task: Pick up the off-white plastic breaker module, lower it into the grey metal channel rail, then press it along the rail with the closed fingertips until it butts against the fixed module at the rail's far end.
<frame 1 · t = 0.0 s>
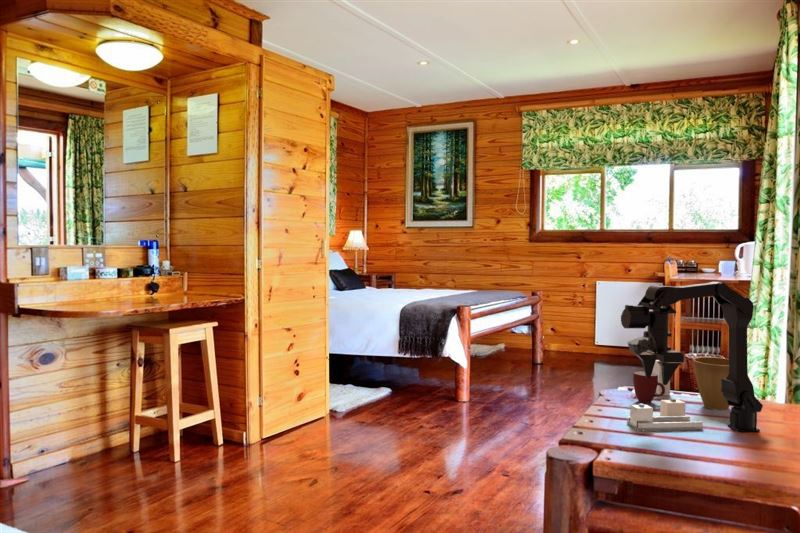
hand: (656, 381, 186), 15 cm above the table, tool pointing down, fingers open, 9 cm apart
rail: (664, 426, 191), on the table
skincare box: (660, 394, 235), on the table
mug: (648, 403, 221), on the table
module: (672, 418, 201), on the table
plant pot: (715, 408, 216), on the table
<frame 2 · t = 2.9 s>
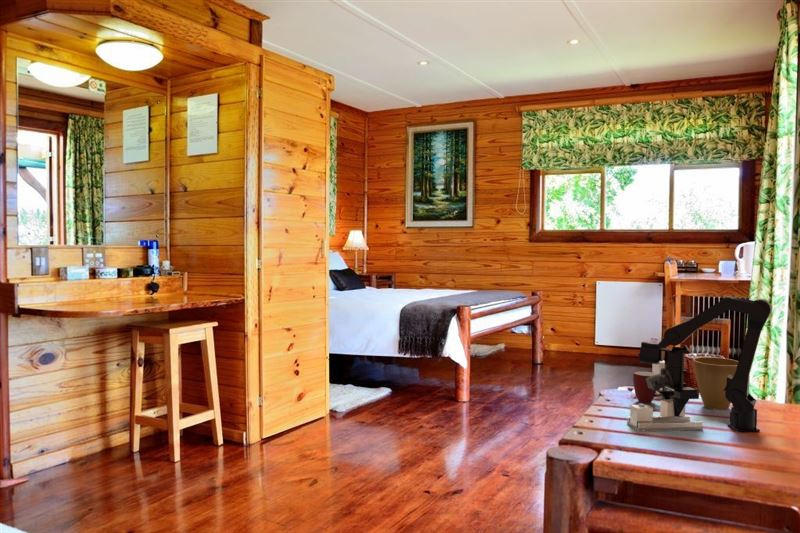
hand: (672, 415, 201), 1 cm above the table, tool pointing down, fingers closed on module, 4 cm apart
module: (672, 418, 201), on the table, touching gripper
everything else where it was.
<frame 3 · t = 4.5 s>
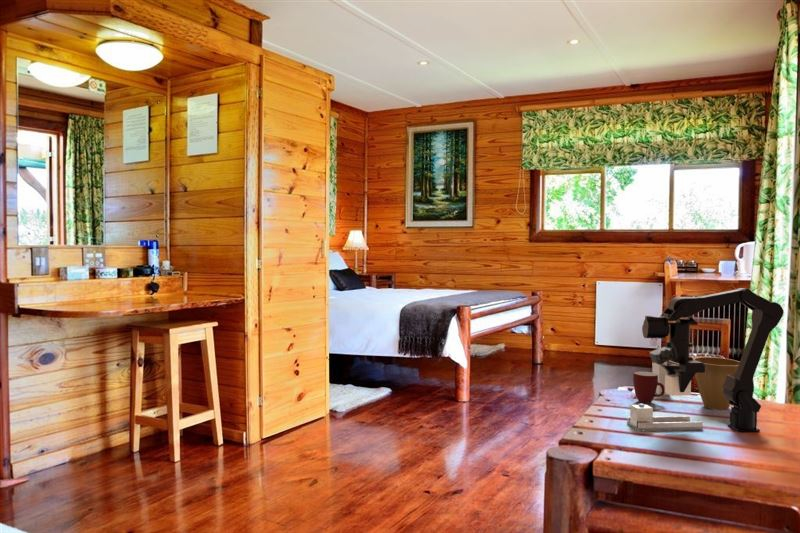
hand: (677, 390, 191), 11 cm above the table, tool pointing down, fingers closed on module, 4 cm apart
module: (677, 394, 191), point 10 cm above the table, touching gripper
everything else where it was.
when the fingers open (3 cm above the table, at t = 6.2 s): module drops 1 cm, resting on rail.
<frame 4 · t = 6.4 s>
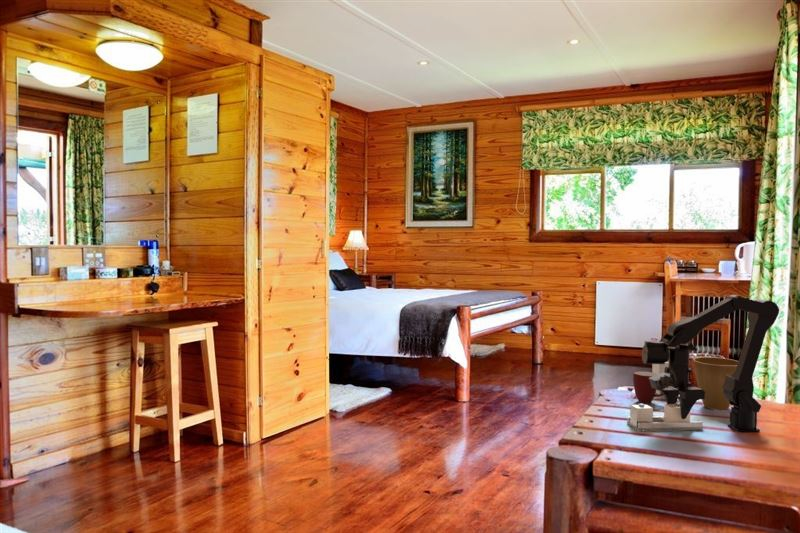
hand: (677, 416, 191), 3 cm above the table, tool pointing down, fingers open, 6 cm apart
module: (676, 423, 191), point 1 cm above the table, touching rail
everything else where it was.
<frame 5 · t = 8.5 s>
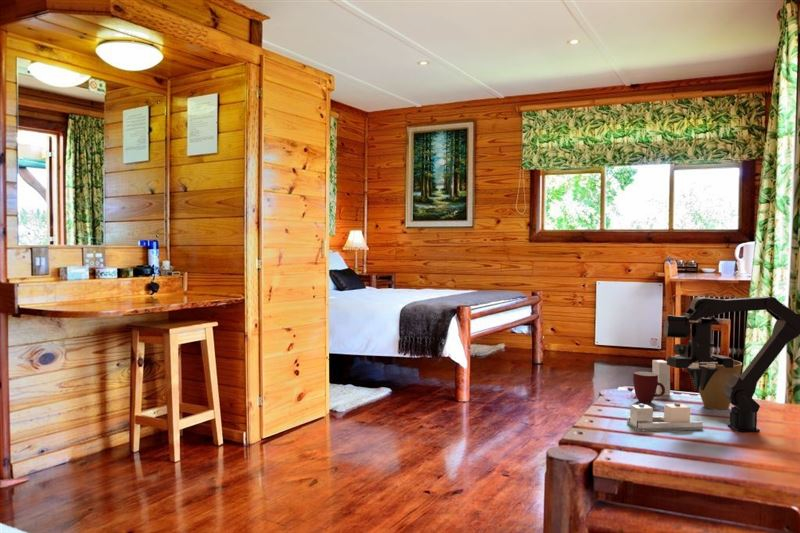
hand: (699, 390, 192), 11 cm above the table, tool pointing down, fingers closed
nothing on the table moved.
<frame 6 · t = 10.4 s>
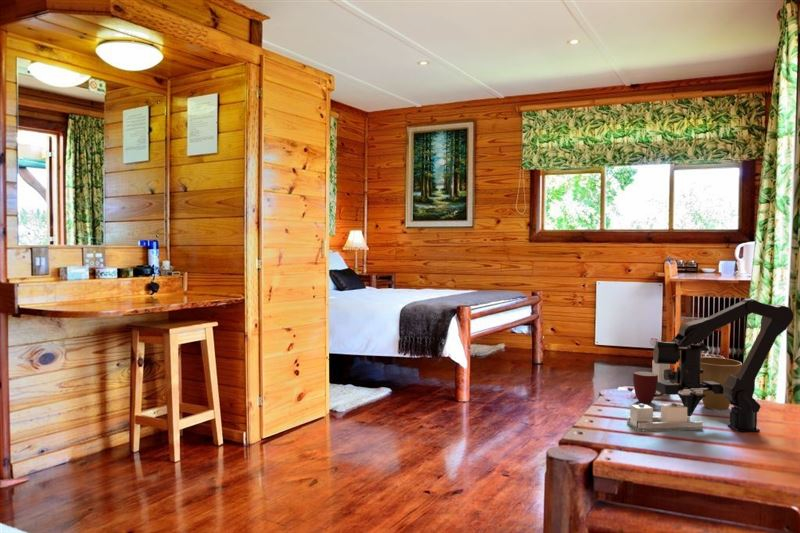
hand: (688, 416, 192), 3 cm above the table, tool pointing down, fingers closed
module: (673, 423, 191), point 1 cm above the table, touching gripper
everything else where it was.
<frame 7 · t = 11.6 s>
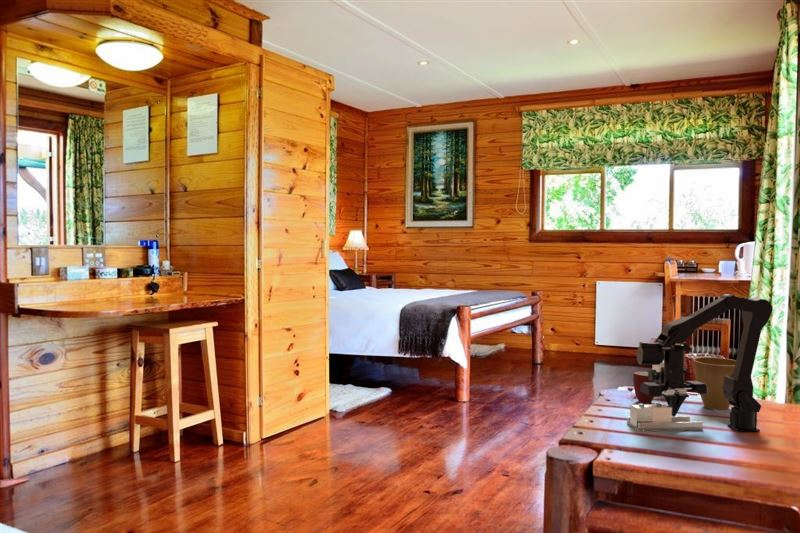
hand: (673, 416, 191), 3 cm above the table, tool pointing down, fingers closed
module: (658, 424, 191), point 1 cm above the table, touching gripper, rail
everything else where it was.
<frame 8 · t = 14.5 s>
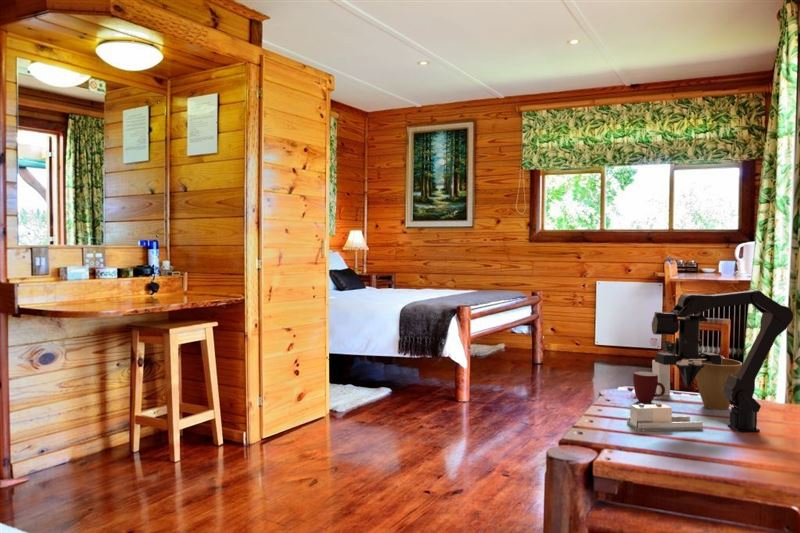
hand: (687, 387, 191), 12 cm above the table, tool pointing down, fingers closed
module: (658, 424, 191), point 1 cm above the table, touching rail
everything else where it was.
at the end: module 0.0 cm from the target spot on the rail, point 0.8 cm above the rail's base; module tilted 0°; module touching rail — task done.
